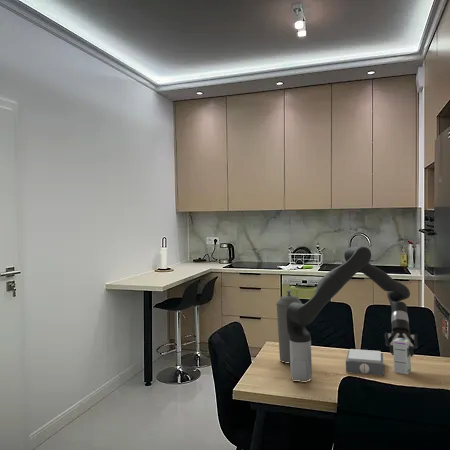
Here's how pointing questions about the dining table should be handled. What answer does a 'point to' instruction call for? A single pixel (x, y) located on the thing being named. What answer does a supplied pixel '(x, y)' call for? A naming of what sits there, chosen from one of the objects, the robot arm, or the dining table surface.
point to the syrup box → (401, 356)
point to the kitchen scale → (365, 362)
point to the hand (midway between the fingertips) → (402, 355)
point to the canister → (284, 325)
